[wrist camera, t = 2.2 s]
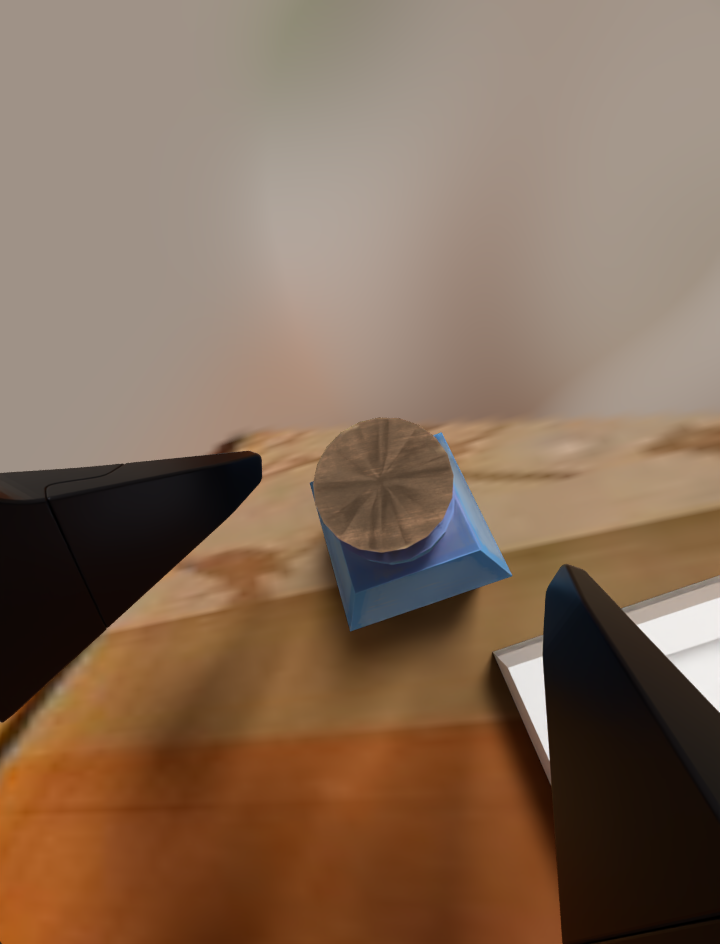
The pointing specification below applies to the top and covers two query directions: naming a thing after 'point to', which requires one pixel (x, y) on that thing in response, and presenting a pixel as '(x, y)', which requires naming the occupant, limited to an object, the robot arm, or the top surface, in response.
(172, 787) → the top surface
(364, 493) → the perfume bottle
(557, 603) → the robot arm
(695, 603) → the tray
